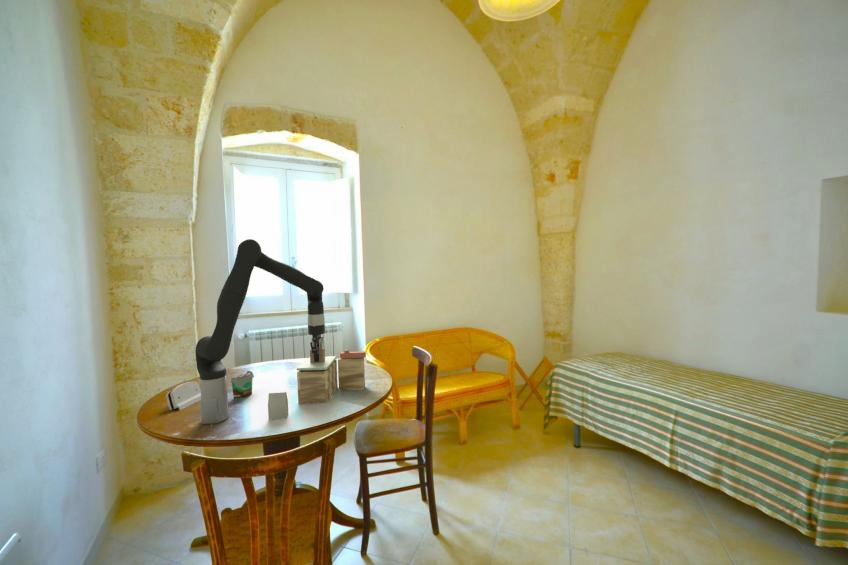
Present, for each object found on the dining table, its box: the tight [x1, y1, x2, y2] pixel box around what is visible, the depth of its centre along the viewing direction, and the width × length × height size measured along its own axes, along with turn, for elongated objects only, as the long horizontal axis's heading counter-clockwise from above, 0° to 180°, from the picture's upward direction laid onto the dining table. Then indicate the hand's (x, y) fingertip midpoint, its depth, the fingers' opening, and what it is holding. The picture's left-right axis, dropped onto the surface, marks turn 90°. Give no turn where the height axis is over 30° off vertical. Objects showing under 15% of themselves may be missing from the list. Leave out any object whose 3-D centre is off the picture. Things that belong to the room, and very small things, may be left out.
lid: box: [296, 347, 338, 371], centre depth 174 cm, size 20×13×8 cm, turn 1°
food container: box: [230, 370, 255, 400], centre depth 177 cm, size 12×6×10 cm, turn 168°
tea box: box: [267, 391, 289, 421], centre depth 151 cm, size 4×7×10 cm, turn 97°
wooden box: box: [296, 356, 366, 405], centre depth 175 cm, size 20×26×15 cm
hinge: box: [165, 381, 201, 411], centre depth 169 cm, size 17×5×10 cm, turn 173°
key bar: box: [339, 349, 367, 359], centre depth 182 cm, size 2×12×4 cm, turn 91°
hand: (317, 360), depth 174 cm, fingers closed on lid, 3 cm apart
